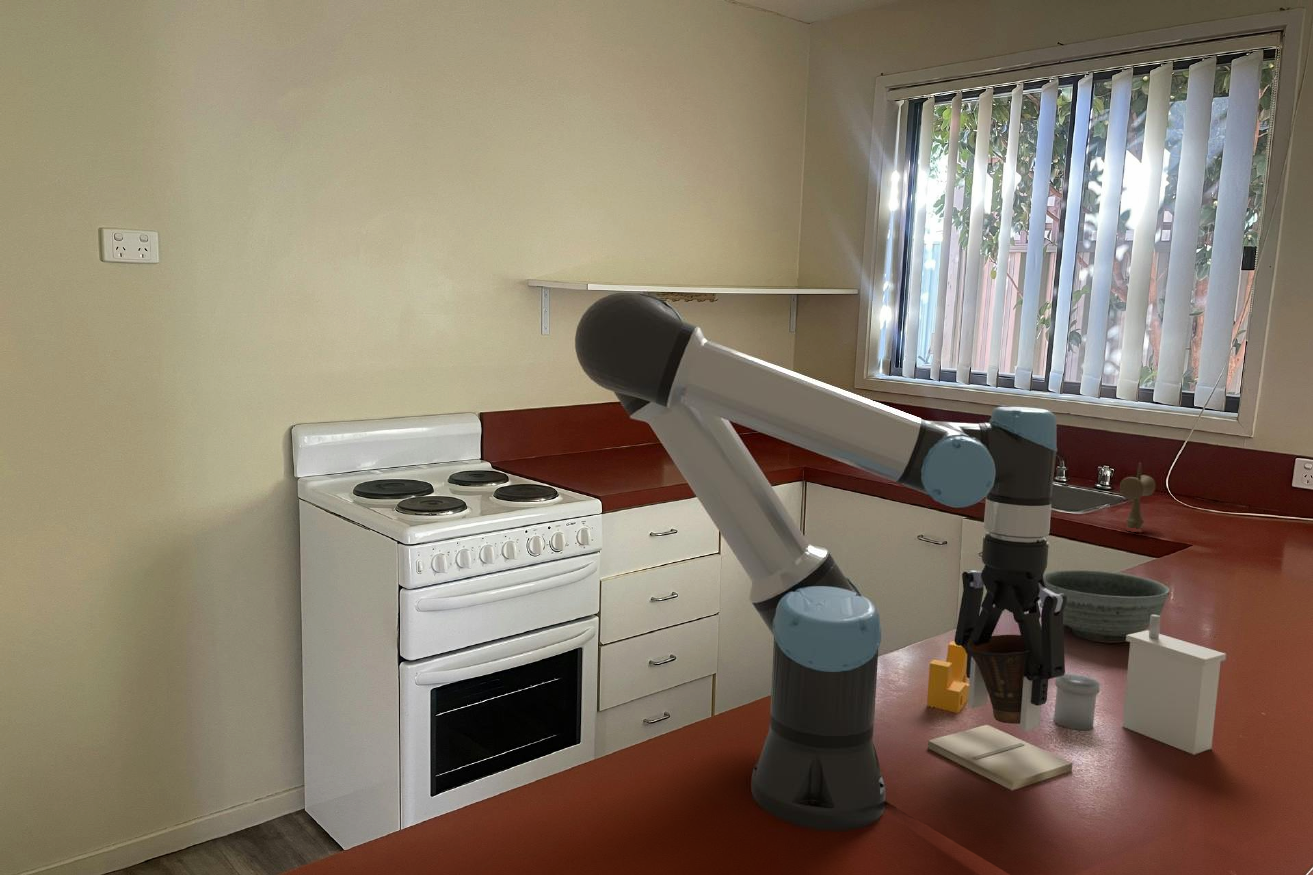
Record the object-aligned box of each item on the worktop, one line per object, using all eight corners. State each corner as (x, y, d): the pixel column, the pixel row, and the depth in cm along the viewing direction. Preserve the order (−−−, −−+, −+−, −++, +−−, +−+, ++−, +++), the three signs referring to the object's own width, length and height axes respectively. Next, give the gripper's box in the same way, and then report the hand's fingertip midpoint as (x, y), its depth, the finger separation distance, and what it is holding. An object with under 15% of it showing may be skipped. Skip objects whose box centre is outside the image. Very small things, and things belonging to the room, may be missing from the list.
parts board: (1011, 790, 118) (1012, 781, 118) (927, 747, 129) (928, 739, 128) (1071, 770, 123) (1072, 761, 123) (986, 731, 134) (987, 723, 134)
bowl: (1132, 664, 164) (1138, 604, 163) (1013, 631, 179) (1018, 576, 178) (1185, 640, 178) (1190, 584, 176) (1070, 611, 193) (1074, 560, 192)
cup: (957, 705, 130) (959, 628, 129) (1027, 706, 130) (1030, 629, 129) (977, 730, 121) (980, 648, 120) (1053, 731, 121) (1056, 649, 120)
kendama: (1113, 538, 262) (1120, 462, 260) (1128, 534, 269) (1135, 459, 266) (1137, 543, 258) (1144, 465, 255) (1152, 538, 264) (1159, 462, 262)
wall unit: (1195, 756, 129) (1207, 636, 127) (1117, 725, 138) (1128, 613, 136) (1216, 748, 131) (1228, 631, 130) (1138, 719, 141) (1149, 608, 139)
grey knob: (1082, 734, 135) (1086, 690, 134) (1043, 719, 139) (1047, 677, 138) (1103, 725, 138) (1107, 682, 138) (1064, 711, 143) (1069, 670, 142)
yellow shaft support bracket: (957, 714, 141) (961, 669, 140) (926, 707, 143) (929, 663, 142) (978, 688, 151) (981, 646, 150) (948, 682, 153) (951, 640, 152)
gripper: (1110, 549, 116) (1094, 740, 119) (971, 517, 133) (960, 685, 136) (1068, 556, 112) (1053, 753, 115) (931, 522, 129) (920, 694, 132)
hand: (1002, 716), depth 125 cm, fingers closed on cup, 7 cm apart
